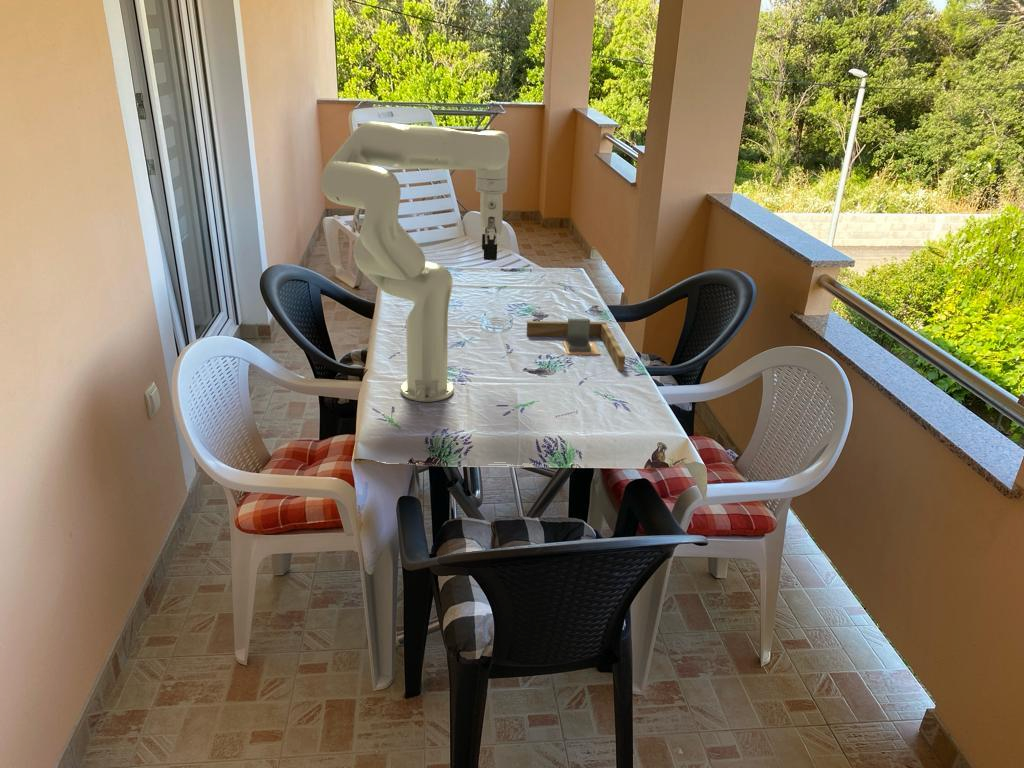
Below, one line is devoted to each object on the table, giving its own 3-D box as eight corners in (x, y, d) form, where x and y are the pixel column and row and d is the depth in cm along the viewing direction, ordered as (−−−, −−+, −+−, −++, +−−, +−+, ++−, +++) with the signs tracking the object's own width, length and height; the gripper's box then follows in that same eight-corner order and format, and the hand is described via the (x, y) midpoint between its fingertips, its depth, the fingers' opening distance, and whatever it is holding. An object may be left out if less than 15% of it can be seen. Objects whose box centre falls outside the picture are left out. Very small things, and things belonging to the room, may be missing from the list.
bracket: (586, 343, 210) (589, 318, 206) (590, 351, 204) (592, 326, 201) (565, 343, 209) (567, 318, 206) (568, 351, 204) (571, 326, 201)
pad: (599, 355, 203) (600, 353, 203) (567, 354, 202) (567, 353, 202) (594, 343, 211) (594, 341, 211) (562, 342, 211) (562, 341, 210)
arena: (623, 370, 194) (625, 356, 192) (536, 370, 192) (537, 355, 190) (604, 335, 218) (605, 322, 216) (526, 334, 216) (527, 321, 214)
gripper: (509, 191, 171) (506, 264, 178) (504, 179, 187) (501, 246, 194) (477, 190, 170) (475, 263, 177) (474, 178, 186) (473, 245, 193)
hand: (489, 254), depth 185 cm, fingers open, 9 cm apart
